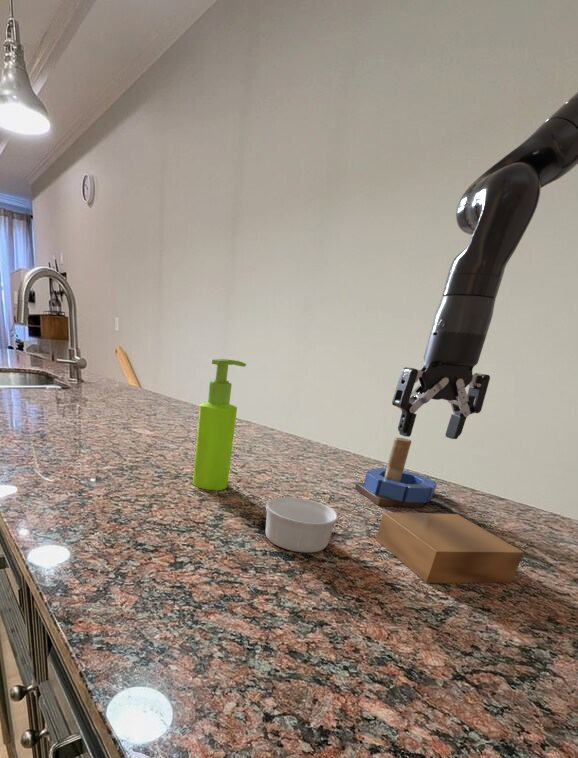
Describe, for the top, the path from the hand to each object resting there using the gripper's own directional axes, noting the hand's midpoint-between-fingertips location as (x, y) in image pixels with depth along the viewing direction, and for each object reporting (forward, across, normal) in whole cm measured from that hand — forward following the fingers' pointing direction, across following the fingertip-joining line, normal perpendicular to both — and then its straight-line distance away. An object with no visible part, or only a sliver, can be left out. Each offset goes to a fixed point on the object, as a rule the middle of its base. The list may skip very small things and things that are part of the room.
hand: (427, 436), depth 73 cm
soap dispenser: (+11, +34, -4) cm, 36 cm away
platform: (+11, +10, +22) cm, 27 cm away
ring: (+10, +3, 0) cm, 10 cm away
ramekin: (+11, +27, +17) cm, 34 cm away
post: (+11, +4, 0) cm, 12 cm away
